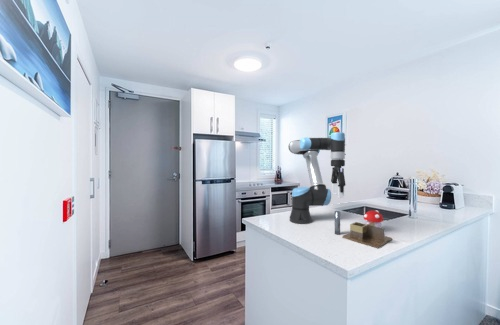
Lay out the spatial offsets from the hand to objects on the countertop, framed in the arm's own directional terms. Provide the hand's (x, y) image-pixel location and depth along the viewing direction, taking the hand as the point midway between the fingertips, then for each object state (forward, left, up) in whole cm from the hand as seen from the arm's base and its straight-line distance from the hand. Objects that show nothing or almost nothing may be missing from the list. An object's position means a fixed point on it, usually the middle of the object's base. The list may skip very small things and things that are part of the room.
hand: (337, 196), depth 124 cm
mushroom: (+10, +23, -22) cm, 33 cm away
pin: (0, 0, -22) cm, 22 cm away
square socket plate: (+14, +6, -22) cm, 26 cm away
